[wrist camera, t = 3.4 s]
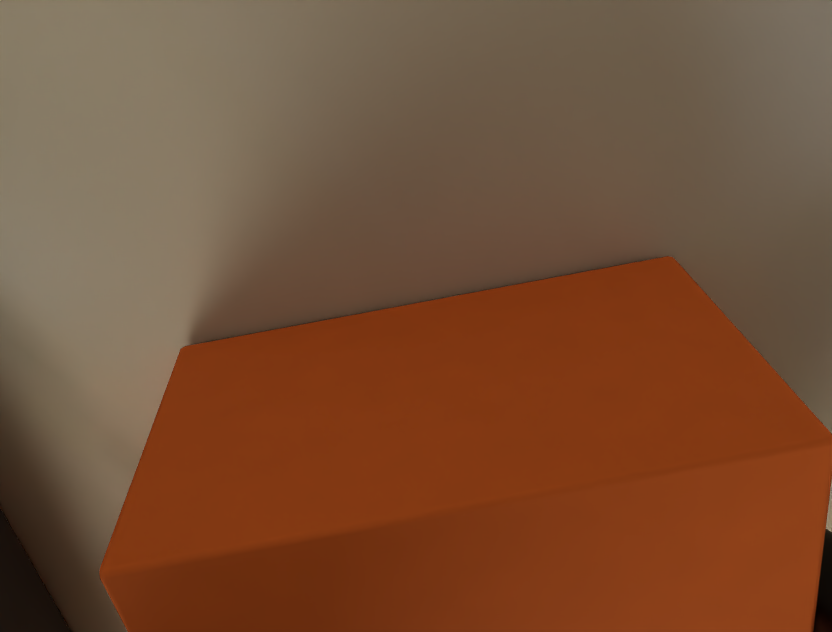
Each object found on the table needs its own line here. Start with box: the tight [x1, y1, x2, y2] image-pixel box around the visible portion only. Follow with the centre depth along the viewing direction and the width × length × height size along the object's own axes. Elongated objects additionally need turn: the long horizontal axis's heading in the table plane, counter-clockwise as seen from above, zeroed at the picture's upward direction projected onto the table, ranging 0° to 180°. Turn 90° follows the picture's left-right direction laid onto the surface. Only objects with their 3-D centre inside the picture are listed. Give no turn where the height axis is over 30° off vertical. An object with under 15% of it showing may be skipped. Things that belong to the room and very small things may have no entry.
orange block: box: [99, 256, 832, 632], centre depth 8 cm, size 5×5×3 cm
